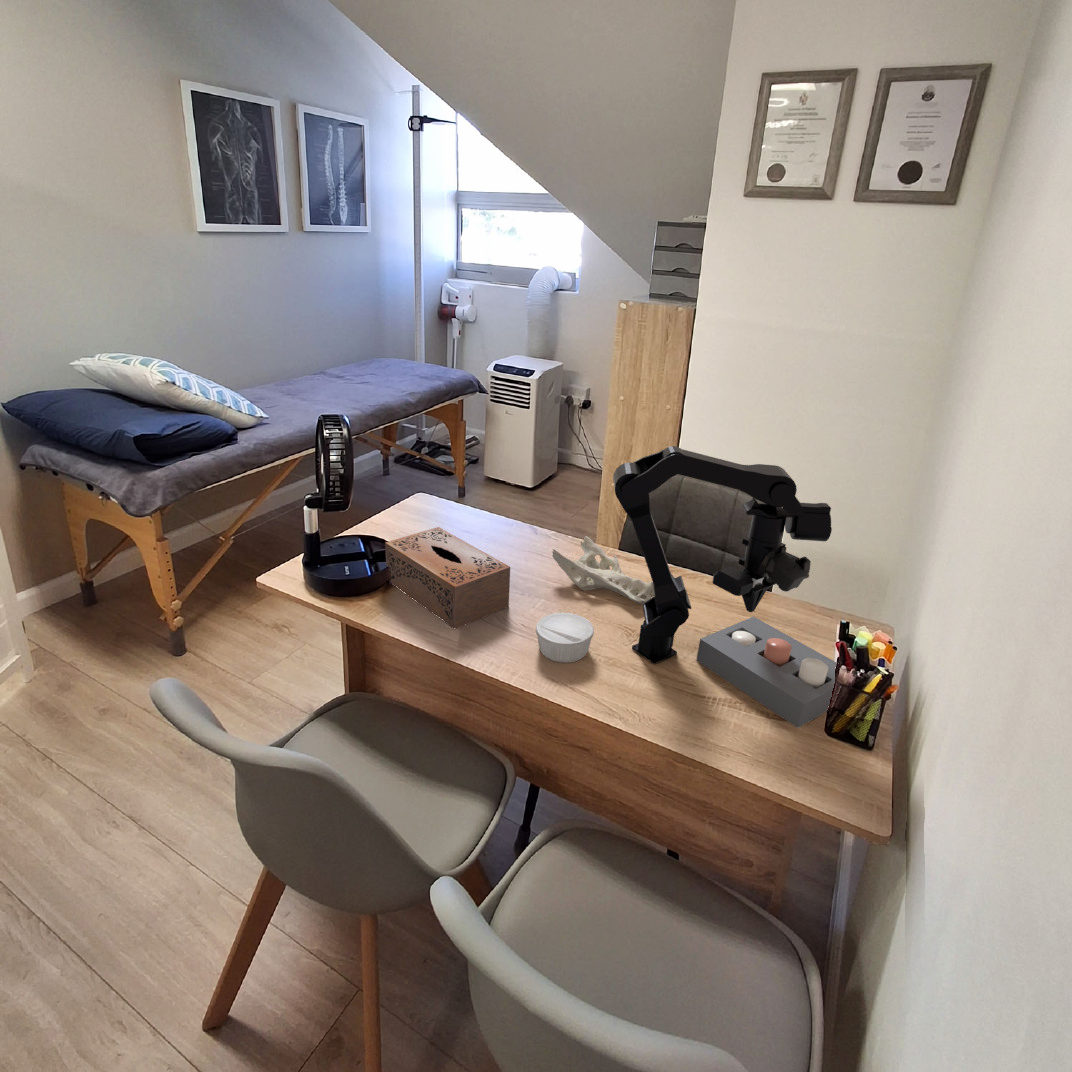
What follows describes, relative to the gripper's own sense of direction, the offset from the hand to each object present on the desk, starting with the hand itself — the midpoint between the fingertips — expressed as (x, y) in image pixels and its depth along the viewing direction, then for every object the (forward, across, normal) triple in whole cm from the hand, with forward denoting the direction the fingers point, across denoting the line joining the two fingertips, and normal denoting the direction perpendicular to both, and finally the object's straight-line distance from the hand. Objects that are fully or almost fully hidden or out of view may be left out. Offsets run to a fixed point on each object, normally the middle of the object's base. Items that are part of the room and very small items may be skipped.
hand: (750, 611), depth 129 cm
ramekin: (+11, -28, +21) cm, 37 cm away
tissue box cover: (+11, -37, +52) cm, 64 cm away
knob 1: (+10, 0, 0) cm, 10 cm away
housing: (+11, 0, -7) cm, 13 cm away
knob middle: (+8, 0, -7) cm, 11 cm away
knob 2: (+8, 0, -15) cm, 17 cm away
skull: (+11, -4, +36) cm, 37 cm away
